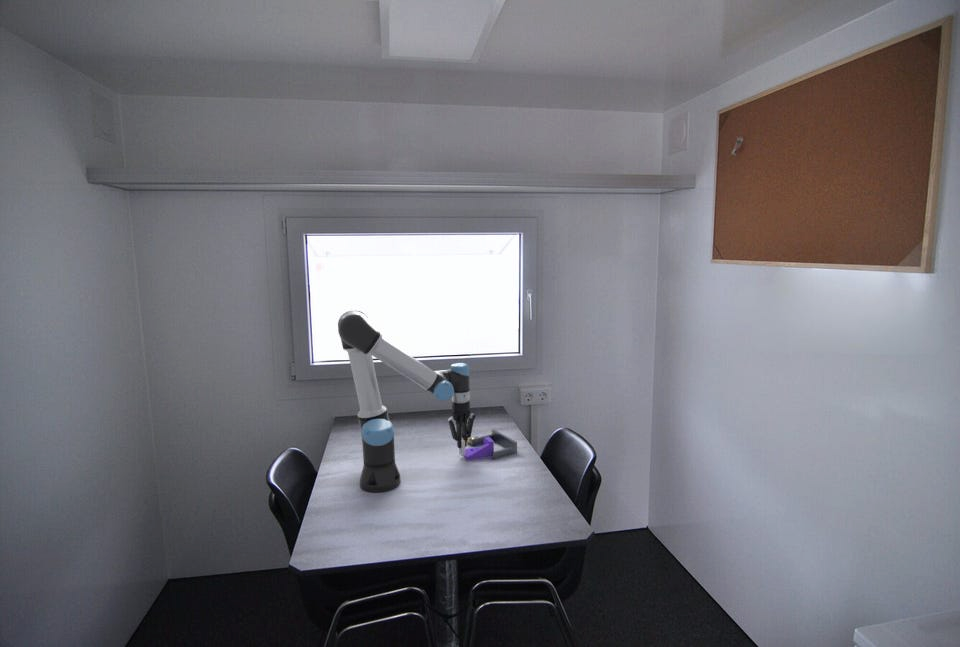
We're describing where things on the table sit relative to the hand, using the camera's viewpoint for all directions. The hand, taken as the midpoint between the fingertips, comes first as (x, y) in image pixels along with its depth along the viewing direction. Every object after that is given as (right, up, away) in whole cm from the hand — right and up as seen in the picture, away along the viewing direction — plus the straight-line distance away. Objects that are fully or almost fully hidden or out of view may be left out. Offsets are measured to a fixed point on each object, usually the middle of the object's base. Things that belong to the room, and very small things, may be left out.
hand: (462, 454), depth 215 cm
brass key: (+4, +1, +17) cm, 18 cm away
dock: (+13, 0, +8) cm, 15 cm away
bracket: (+7, -1, +3) cm, 7 cm away
